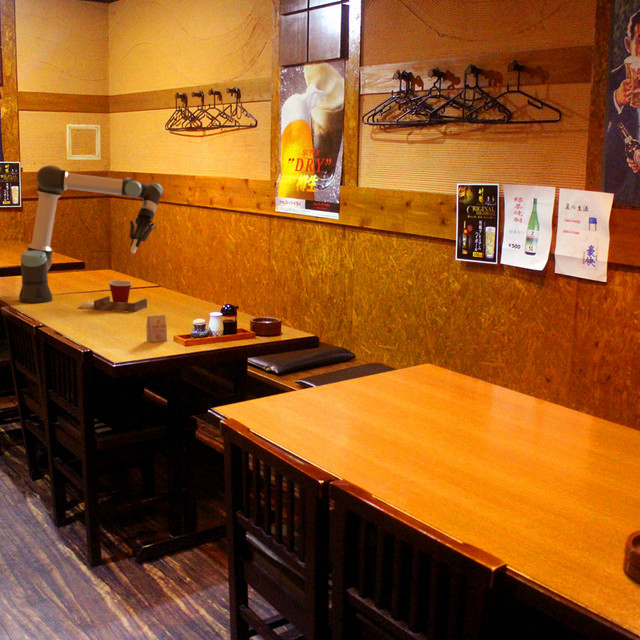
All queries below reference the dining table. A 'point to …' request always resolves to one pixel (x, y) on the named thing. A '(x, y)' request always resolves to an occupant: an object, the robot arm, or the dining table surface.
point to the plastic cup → (120, 290)
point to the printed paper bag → (156, 329)
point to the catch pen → (119, 305)
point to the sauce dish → (87, 305)
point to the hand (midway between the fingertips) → (132, 252)
